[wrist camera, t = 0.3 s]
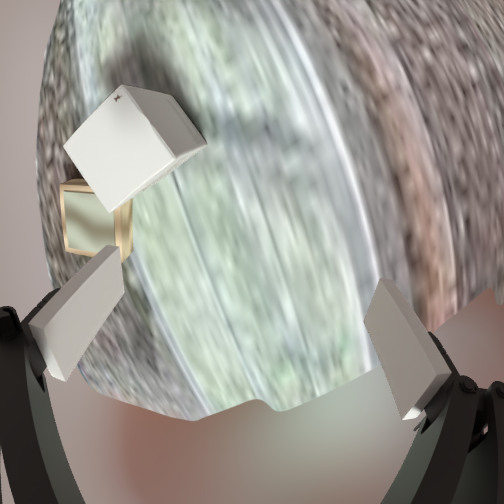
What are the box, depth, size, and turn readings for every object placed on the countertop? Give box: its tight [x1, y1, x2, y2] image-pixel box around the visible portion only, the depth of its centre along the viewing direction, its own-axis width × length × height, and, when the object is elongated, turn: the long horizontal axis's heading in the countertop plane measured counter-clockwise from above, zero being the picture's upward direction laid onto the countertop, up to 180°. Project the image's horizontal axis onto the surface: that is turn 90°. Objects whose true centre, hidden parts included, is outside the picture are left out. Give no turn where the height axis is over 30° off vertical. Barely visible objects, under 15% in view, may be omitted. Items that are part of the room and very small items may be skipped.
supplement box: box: [63, 84, 207, 213], centre depth 28 cm, size 9×9×15 cm
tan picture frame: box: [60, 179, 133, 262], centre depth 38 cm, size 11×11×4 cm
